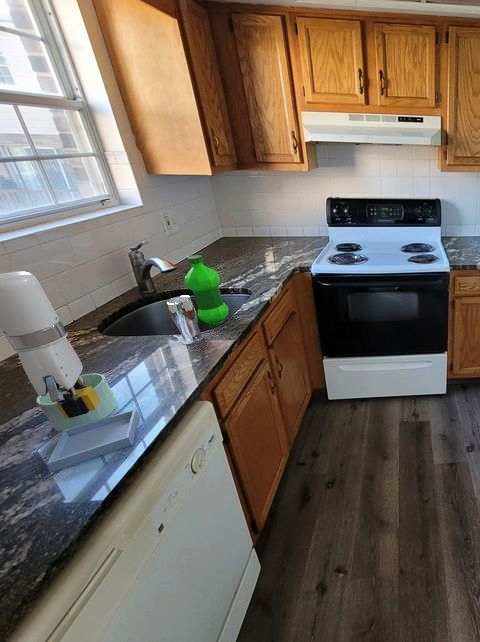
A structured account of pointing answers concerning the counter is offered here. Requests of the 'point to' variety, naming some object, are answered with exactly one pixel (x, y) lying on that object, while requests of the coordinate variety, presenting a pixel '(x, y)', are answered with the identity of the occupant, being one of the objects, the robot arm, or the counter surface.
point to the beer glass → (185, 318)
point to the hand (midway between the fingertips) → (81, 408)
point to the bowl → (102, 410)
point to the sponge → (84, 399)
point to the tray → (94, 439)
